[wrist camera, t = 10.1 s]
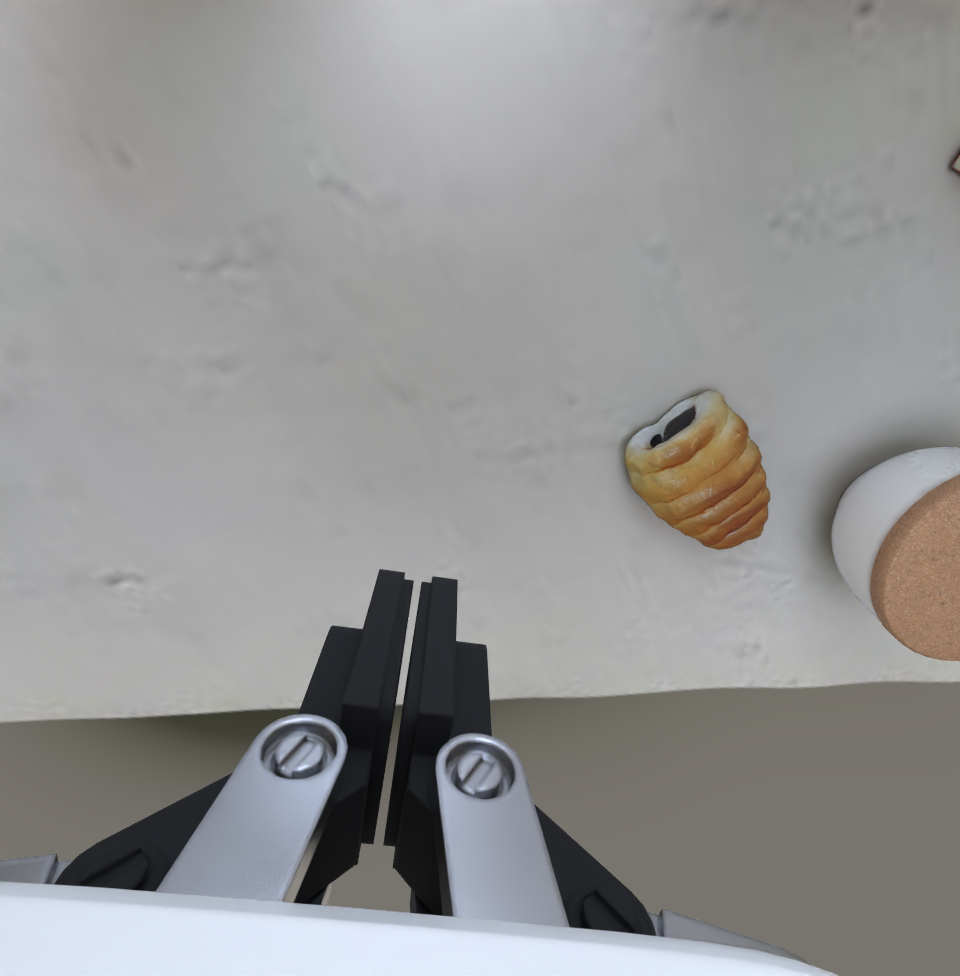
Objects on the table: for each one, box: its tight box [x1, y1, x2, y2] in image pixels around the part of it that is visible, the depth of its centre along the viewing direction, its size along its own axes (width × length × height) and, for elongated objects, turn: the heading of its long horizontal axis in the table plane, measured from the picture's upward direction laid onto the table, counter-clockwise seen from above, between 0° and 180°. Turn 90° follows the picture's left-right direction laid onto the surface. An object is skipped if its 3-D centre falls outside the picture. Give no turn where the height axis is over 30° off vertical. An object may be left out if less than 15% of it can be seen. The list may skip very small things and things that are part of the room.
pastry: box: [625, 391, 770, 550], centre depth 32 cm, size 9×7×4 cm
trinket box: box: [832, 447, 960, 661], centre depth 30 cm, size 11×11×9 cm
